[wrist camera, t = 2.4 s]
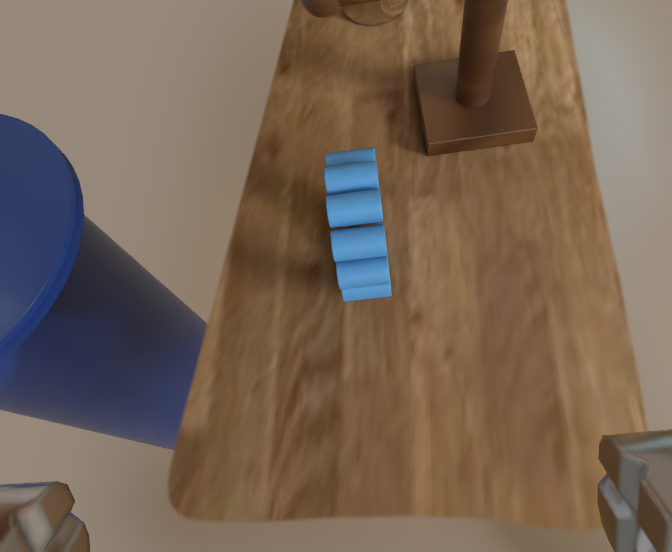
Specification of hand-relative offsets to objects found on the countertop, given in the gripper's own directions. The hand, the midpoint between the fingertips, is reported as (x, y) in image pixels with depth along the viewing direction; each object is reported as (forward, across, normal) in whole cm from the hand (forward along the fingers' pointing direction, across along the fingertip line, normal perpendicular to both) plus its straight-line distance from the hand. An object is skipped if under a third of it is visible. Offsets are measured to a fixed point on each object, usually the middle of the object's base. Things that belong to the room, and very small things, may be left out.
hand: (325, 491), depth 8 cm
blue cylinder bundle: (+28, 0, +6) cm, 29 cm away
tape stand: (+37, -6, -3) cm, 37 cm away
